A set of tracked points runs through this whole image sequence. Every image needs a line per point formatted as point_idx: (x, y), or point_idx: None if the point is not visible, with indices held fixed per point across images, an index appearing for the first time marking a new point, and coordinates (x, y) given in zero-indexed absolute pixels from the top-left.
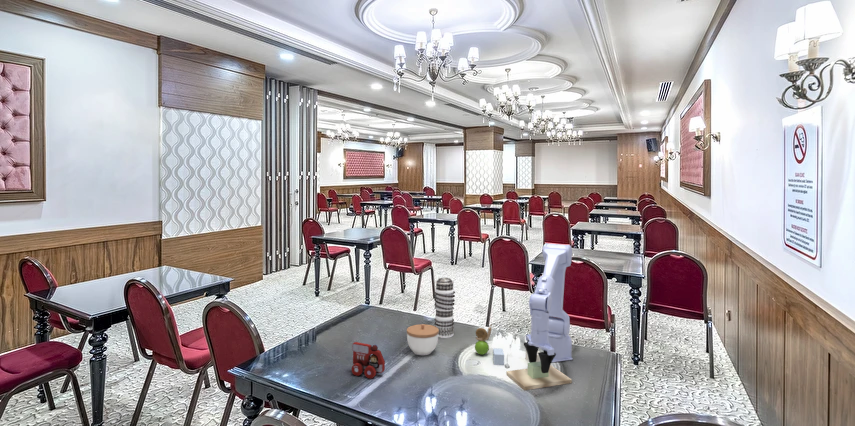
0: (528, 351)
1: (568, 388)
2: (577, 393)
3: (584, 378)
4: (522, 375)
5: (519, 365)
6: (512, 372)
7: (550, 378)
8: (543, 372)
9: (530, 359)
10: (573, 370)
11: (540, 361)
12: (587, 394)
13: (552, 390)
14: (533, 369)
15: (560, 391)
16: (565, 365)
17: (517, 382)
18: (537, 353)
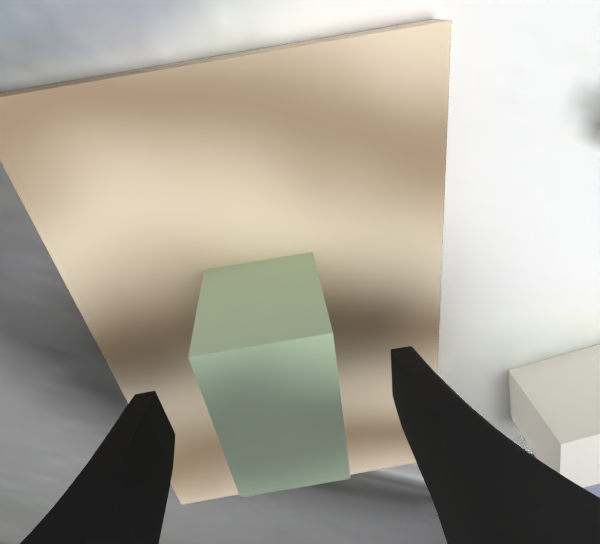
0: (463, 472)
1: (98, 447)
2: (24, 470)
3: (245, 539)
4: (293, 190)
5: (574, 250)
6: (396, 96)
7: (202, 401)
8: (131, 405)
9: (409, 389)
10: (358, 523)
11: (343, 458)
12: (20, 507)
13: (47, 350)
14: (192, 337)
15: (38, 393)
16: (435, 508)
17: (152, 69)
18: (588, 459)
